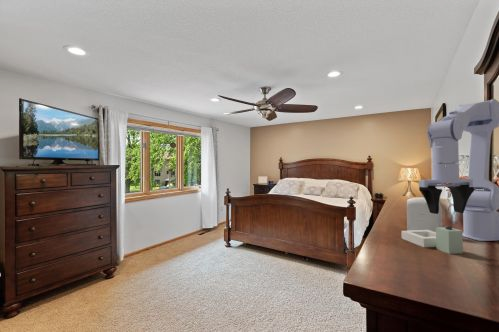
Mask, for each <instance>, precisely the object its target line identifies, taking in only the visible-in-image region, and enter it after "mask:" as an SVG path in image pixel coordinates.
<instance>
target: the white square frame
mask: <svg viewBox="0 0 499 332" xmlns="http://www.w3.org/2000/svg"><path fill="white" fill-rule="evenodd" d="M401 239H402V240H404V241H407V242H410V243H411V244H414V245H417V246H420V247H422V248H436V232H433V231H430V230H409V231H408V230H401Z"/></svg>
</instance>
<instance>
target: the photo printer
mask: <svg viewBox="0 0 499 332" xmlns="http://www.w3.org/2000/svg"><path fill="white" fill-rule="evenodd" d="M442 213H443V212H442V204H441V201H440V200H439V212H438V214H434V213H430V211H429V208H428V205H427V202H426V200H425V198H424V196H423V197H421V196H420V197H413V198H412V197H411V198H409V199H407V200H406V223H407V225H406V226H407V229H406V230H407V231H409V230H430V231H433V232H436V228H439V227H443V216H442Z"/></svg>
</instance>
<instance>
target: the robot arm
mask: <svg viewBox="0 0 499 332" xmlns="http://www.w3.org/2000/svg"><path fill="white" fill-rule="evenodd" d="M427 127H428V128H427V131H426V135H427V139H428V141H429V147H430V149H431V155H432V156H431V157H432V159H431V161H432V178H431V179H418V190H419V192H420V193H421V195H422V196H423V197H424V198H425V200H426V202H427V205H428V208H429V211H430V213H434V214H438V212H439V201H440V199H441V195H442V192H443V187H444V188H445V187H449V188H448V189H449V190H450V193H451V196H452V202H453V203H452V204H453V205H452V206H453V211H454V212H455V213H461V214H462V221H463V223H462V225H463V228H462V229H463V232H462V237H465V238H467V239H471V240H475V241H478V242H486V241H487V242H489V241H494V242H495V241H499V211H498V210H499V186H498V185H497V184H495V183H494V182H492V181H491V180H489V174H490V173H489V171H490V170H489V169H490V157H491V156H490V155H491V141H492V139H491V138H492V133H493V131H494V130H495V129H496V128H499V101H498V100H497V99H496V98H493V99H492V98H491V99H490V100H489V99H488V100H483V101H479V102H478V101H477V102H472V103H467V104H459V105H458V106H456V109H455V110H450V111H449V112H448V114H447V115H445V116H444V117H442V119H441V120H439V121H436V122H435V121H433V122H431V124H429V125H428V126H427ZM464 132H467V133H470V134H471V136H470V137H471V138H470V151H469V162H468V174H467V175H468V176H467V178H460V163H459V162H460V159H459V154H460V153H459V141H460V140H461V139H462V136H463V133H464ZM438 187H439V188H438Z"/></svg>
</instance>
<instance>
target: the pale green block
mask: <svg viewBox="0 0 499 332" xmlns="http://www.w3.org/2000/svg"><path fill="white" fill-rule="evenodd" d="M462 233H463V230H461V229H458V228H453V227H452V225H445V226H444V227H443V226H442V227H439V228H436V247H435V248H436V250H437V251H440V252H443V253H446V254H449V255H452V254H464V249H463V248H464V246H463V245H464V244H463V243H464V242H463V237H464V236H462Z"/></svg>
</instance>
